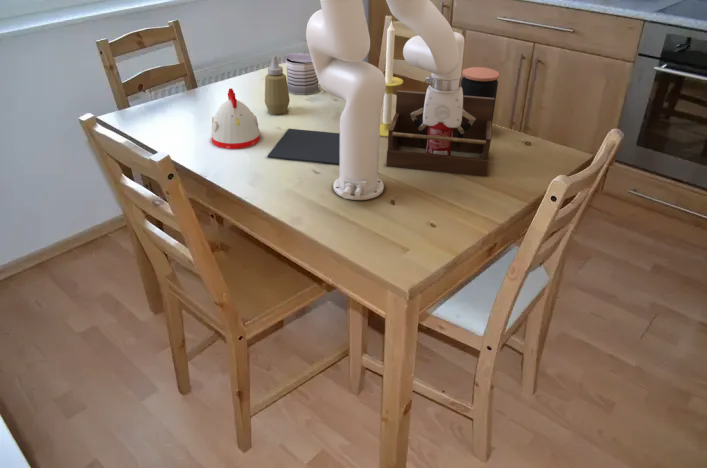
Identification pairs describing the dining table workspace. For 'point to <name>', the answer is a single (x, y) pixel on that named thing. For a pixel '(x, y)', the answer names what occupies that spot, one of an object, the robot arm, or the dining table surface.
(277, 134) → the dining table surface
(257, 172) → the dining table surface
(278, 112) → the squeeze bottle
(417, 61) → the robot arm
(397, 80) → the candle
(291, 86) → the can
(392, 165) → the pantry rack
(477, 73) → the coffee jar
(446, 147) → the soda can
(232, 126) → the kitchen timer
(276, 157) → the mat
